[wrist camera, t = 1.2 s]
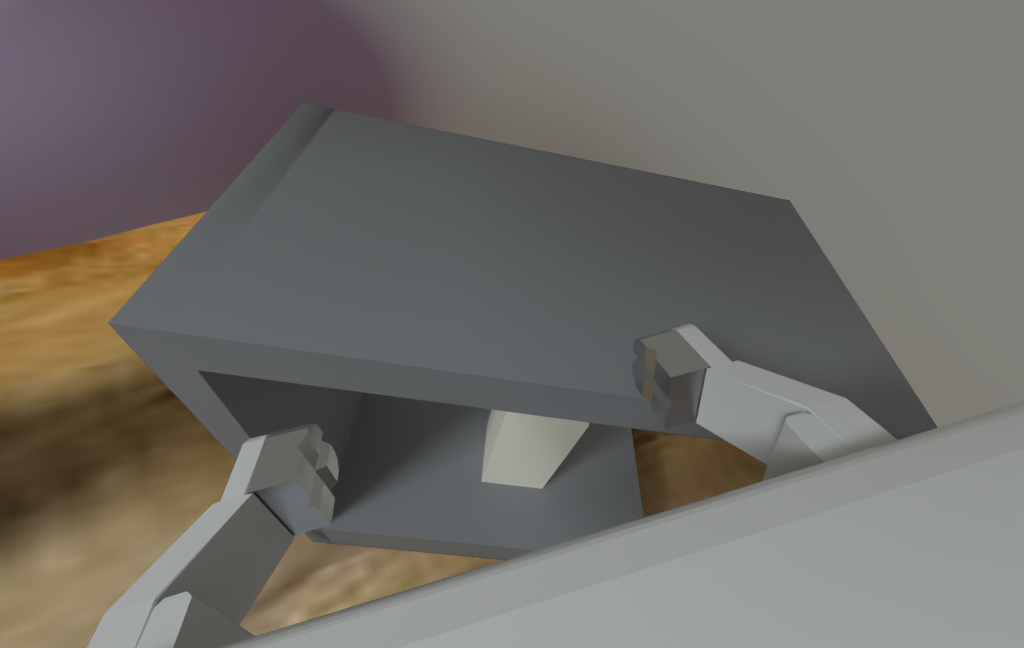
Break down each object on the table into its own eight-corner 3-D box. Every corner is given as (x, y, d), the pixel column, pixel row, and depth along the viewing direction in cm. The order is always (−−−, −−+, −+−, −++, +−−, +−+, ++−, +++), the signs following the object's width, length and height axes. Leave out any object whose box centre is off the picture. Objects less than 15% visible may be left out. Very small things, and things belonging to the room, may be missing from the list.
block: (481, 481, 33) (505, 414, 24) (487, 424, 36) (510, 345, 27) (542, 488, 33) (589, 425, 24) (542, 431, 37) (584, 356, 27)
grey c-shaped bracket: (312, 541, 33) (107, 323, 11) (362, 388, 41) (303, 103, 20) (624, 571, 35) (946, 441, 14) (609, 421, 44) (789, 200, 23)
